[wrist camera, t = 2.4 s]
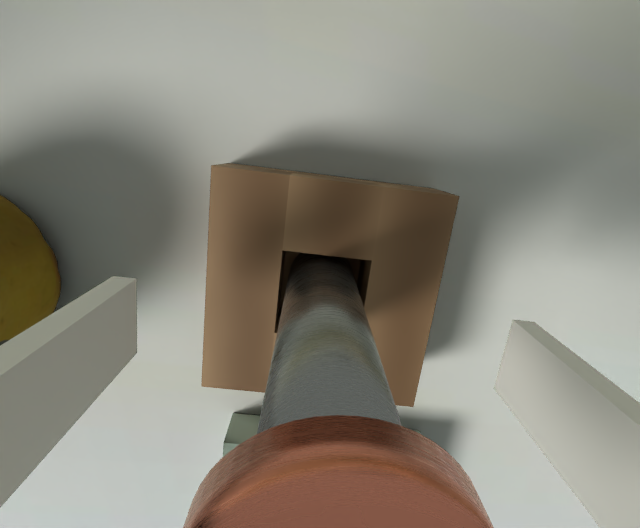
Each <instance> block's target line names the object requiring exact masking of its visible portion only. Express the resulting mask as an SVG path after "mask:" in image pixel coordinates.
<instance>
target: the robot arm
mask: <svg viewBox="0 0 640 528" xmlns="http://www.w3.org/2000/svg"><path fill="white" fill-rule="evenodd" d="M136 353H137V279H136V278H126V277H117V276H112V277H111V278H109V279H108V280H106V281H104V282H103V283H101V284H99V285H98V286H96V287H95V288H93V289H91V290H90V291H88V292H86V293H85V294H83V295H82V296H80V297H78V298H77V299H75V300H73V301H72V302H70V303H69V304H67V305H65V306H64V307H62V308H61V309H59V310H57V311H56V312H54V313H52V314H51V315H49V316H48V317H46V318H44V319H43V320H41V321H39V322H38V323H36V324H35V325H33V326H31V327H30V328H28V329H26V330H25V331H23V332H22V333H20V334H18V335H17V336H15V337H13V338H12V339H10V340H3V341H1V342H0V507H1V506H2V505H3V504H4V503H5V502H6V501H7V499H8V498H9V497H10V496H11V495H12V494H13V493H14V492H15V490H16V489H17V488H18V487H19V486H20V485H21V484H22V482H23V481H24V480H25V479H26V478H27V477H28V476H29V475H30V473H31V472H32V471H33V470H34V469H35V468H36V467H37V465H38V464H39V463H40V462H41V461H42V460H43V459H44V458H45V456H46V455H47V454H48V453H49V452H50V451H51V450H52V448H53V447H54V446H55V445H56V444H57V443H58V442H59V441H60V439H61V438H62V437H63V436H64V435H65V434H66V433H67V431H68V430H69V429H70V428H71V427H72V426H73V425H74V424H75V422H76V421H77V420H78V419H79V418H80V417H81V416H82V414H83V413H84V412H85V411H86V410H87V409H88V408H89V406H90V405H91V404H92V403H93V402H94V401H95V400H96V399H97V397H98V396H99V395H100V394H101V393H102V392H103V391H104V389H105V388H106V387H107V386H108V385H109V384H110V383H111V382H112V380H113V379H114V378H115V377H116V376H117V375H118V374H119V372H120V371H121V370H122V369H123V368H124V367H125V366H126V365H127V363H128V362H129V361H130V360H131V359H132V358H133V357H134V355H135V354H136ZM494 389H495V391H496V392H497V393H498V395H499V396H500V397H501V399H502V400H503V401H504V402H505V404H506V405H507V406H508V408H509V409H510V410H511V412H512V413H513V414H514V416H515V417H516V418H517V419H518V421H519V422H520V423H521V425H522V426H523V427H524V429H525V430H526V431H527V433H528V434H529V435H530V437H531V438H532V439H533V440H534V442H535V443H536V444H537V446H538V447H539V448H540V450H541V451H542V452H543V454H544V455H545V456H546V457H547V459H548V460H549V461H550V463H551V464H552V465H553V467H554V468H555V469H556V471H557V472H558V473H559V475H560V476H561V477H562V478H563V480H564V481H565V482H566V484H567V485H568V486H569V488H570V489H571V490H572V492H573V493H574V494H575V495H576V497H577V498H578V499H579V501H580V502H581V503H582V505H583V506H584V507H585V509H586V510H587V511H588V513H589V514H590V515H591V516H592V518H593V519H594V520H595V522H596V523H597V524H598V526H599V527H600V528H640V403H639V402H637V401H636V400H635V399H633V398H632V397H631V396H630V395H628V394H627V393H626V392H624V391H623V390H622V389H620V388H619V387H618V386H617V385H615V384H614V383H613V382H611V381H610V380H609V379H607V378H606V377H605V376H604V375H602V374H601V373H600V372H598V371H597V370H596V369H594V368H593V367H592V366H591V365H589V364H588V363H587V362H585V361H584V360H583V359H581V358H580V357H579V356H578V355H576V354H575V353H574V352H572V351H571V350H570V349H568V348H567V347H566V346H565V345H563V344H562V343H561V342H559V341H558V340H557V339H555V338H554V337H553V336H552V335H550V334H549V333H548V332H546V331H545V330H544V329H542V328H541V327H540V326H539V325H537V324H536V323H535V322H529V321H520V320H513V321H512V325H511V328H510V332H509V335H508V339H507V342H506V346H505V349H504V353H503V357H502V360H501V364H500V367H499V371H498V374H497V378H496V382H495V385H494Z"/></svg>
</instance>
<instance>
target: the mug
mask: <svg viewBox="0 0 640 528" xmlns="http://www.w3.org/2000/svg"><path fill="white" fill-rule="evenodd" d="M60 290H61V277H60V274H59V271H58V265H57V260H56V257H55V255H54V252H53V250H52V249H51V248H50V247H49V246H48V244H47V243H46V241H45V240H44V238H43V236H42V234H41V232H40V230H39V228H38V227H37V226H36V224H35V223H34V222H33V221H32V219H30V218H29V217H28V216H27V215H26V214H25V213H23V212H22V211H21V210H20V209H19V208H18V207H17V206H16V205H15V204H13V203H12V202H10V201H9V200H7V199H6V198H4V197H3V196H1V195H0V342H1V341H3V340H10V339H12V338H13V337H15V336H17V335H18V334H20V333H22V332H23V331H25V330H26V329H28V328H30V327H31V326H33V325H35V324H36V323H38V322H39V321H41V320H43V319H44V318H46V317H48V316H49V315H51V314H52V313H53V312H54V310H55V308H56V305H57V302H58V299H59V296H60Z"/></svg>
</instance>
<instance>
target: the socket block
mask: <svg viewBox="0 0 640 528" xmlns="http://www.w3.org/2000/svg"><path fill="white" fill-rule="evenodd" d="M458 200H459V196H457V195H454V194H450V193H447V192H444V191H440V190H437V189H433V188H425V187H417V186H409V185H401V184H393V183H385V182H377V181H369V180H361V179H353V178H345V177H337V176H329V175H321V174H313V173H305V172H297V171H289V170H281V169H273V168H265V167H257V166H249V165H241V164H233V163H226V164H219V165H211V185H210V207H209V230H208V252H207V275H206V297H205V319H204V342H203V364H202V386H203V387H213V388H223V389H234V390H244V391H254V392H265V390H266V385H267V381H268V376H269V371H270V366H271V361H272V356H273V351H274V346H275V341H276V336H277V331H278V326H279V321H280V316H281V311H282V306H283V301H284V296H285V291H286V287H287V282H288V277H289V272H290V268H291V265H292V263H293V261H294V259H295V258H296V257H297V256H298V255H299V254H300V253H309V254H318V255H327V256H335V257H344V258H346V259H347V260H348V262H349V264H350V266H351V269H352V272H353V276H354V279H355V282H356V285H357V288H358V291H359V294H360V297H361V300H362V303H363V306H364V310H365V313H366V316H367V319H368V322H369V325H370V328H371V331H372V334H373V337H374V341H375V344H376V347H377V350H378V353H379V356H380V359H381V362H382V365H383V368H384V372H385V375H386V378H387V381H388V384H389V387H390V390H391V393H392V396H393V399H394V402H395V405H399V406H410V407H413V406H414V401H415V396H416V392H417V387H418V383H419V378H420V374H421V369H422V365H423V360H424V355H425V351H426V346H427V342H428V337H429V333H430V328H431V323H432V319H433V314H434V310H435V305H436V301H437V296H438V291H439V287H440V282H441V278H442V273H443V269H444V264H445V259H446V255H447V250H448V246H449V241H450V237H451V232H452V228H453V223H454V218H455V214H456V209H457V205H458Z"/></svg>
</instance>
